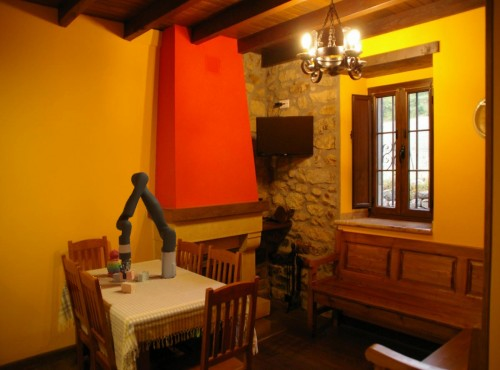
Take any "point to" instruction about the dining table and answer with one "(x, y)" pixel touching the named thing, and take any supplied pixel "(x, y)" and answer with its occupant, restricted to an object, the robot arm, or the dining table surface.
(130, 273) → the terracotta brick
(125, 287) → the ochre brick
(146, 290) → the dining table surface
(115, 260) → the stacking bear
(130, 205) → the robot arm
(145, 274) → the sage brick
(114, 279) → the slate brick
